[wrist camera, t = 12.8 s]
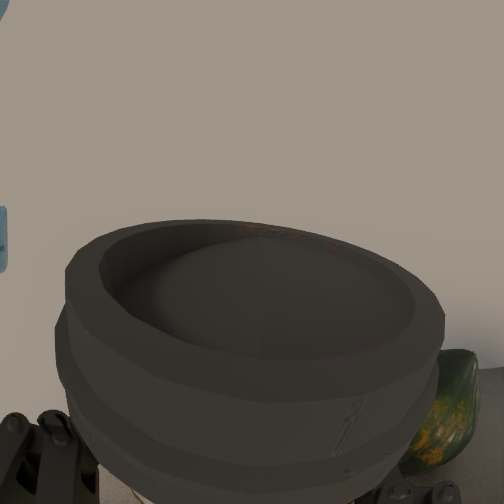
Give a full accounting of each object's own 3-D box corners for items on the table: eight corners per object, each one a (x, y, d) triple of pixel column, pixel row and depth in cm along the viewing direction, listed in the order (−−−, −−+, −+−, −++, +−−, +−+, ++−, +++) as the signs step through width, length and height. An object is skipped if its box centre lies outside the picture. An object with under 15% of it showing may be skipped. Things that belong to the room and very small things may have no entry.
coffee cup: (134, 551, 6) (-68, 317, 1) (163, 447, 14) (144, 207, 9) (299, 568, 6) (552, 383, 1) (291, 462, 14) (372, 236, 9)
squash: (320, 425, 22) (473, 372, 13) (366, 359, 34) (462, 309, 25) (369, 502, 18) (495, 472, 10) (401, 429, 30) (491, 393, 21)
